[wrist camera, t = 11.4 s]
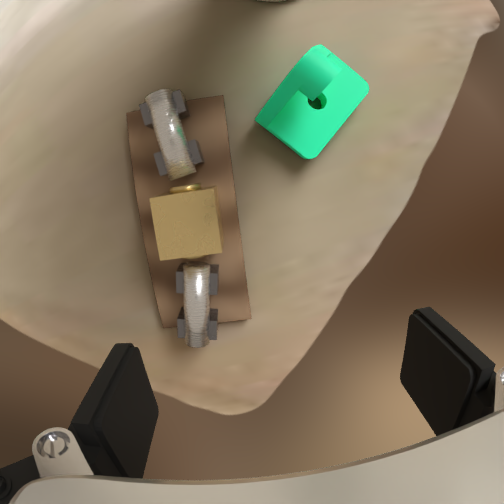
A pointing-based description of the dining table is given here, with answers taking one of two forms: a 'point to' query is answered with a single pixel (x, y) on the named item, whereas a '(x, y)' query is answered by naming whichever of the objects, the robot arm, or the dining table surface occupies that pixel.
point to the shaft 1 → (171, 133)
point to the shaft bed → (208, 174)
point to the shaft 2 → (197, 302)
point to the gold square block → (187, 222)
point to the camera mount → (313, 86)
